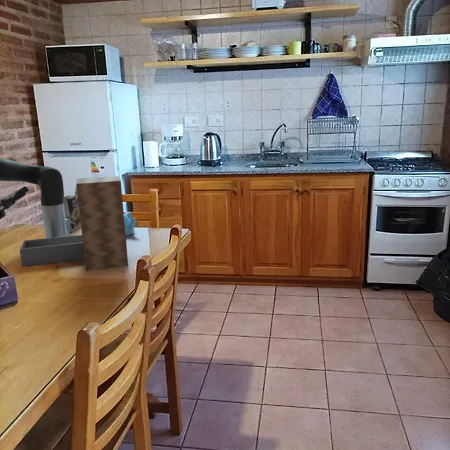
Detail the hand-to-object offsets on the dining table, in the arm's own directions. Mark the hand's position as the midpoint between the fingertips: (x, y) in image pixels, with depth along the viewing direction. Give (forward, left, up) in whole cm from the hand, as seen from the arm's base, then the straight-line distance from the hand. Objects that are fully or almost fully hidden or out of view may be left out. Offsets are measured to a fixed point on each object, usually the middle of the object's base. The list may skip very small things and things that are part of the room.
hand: (26, 190), depth 164 cm
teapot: (-42, +5, -28) cm, 51 cm away
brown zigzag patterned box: (-9, +28, -28) cm, 41 cm away
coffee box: (-40, -23, -28) cm, 54 cm away
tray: (-8, +8, -28) cm, 30 cm away
